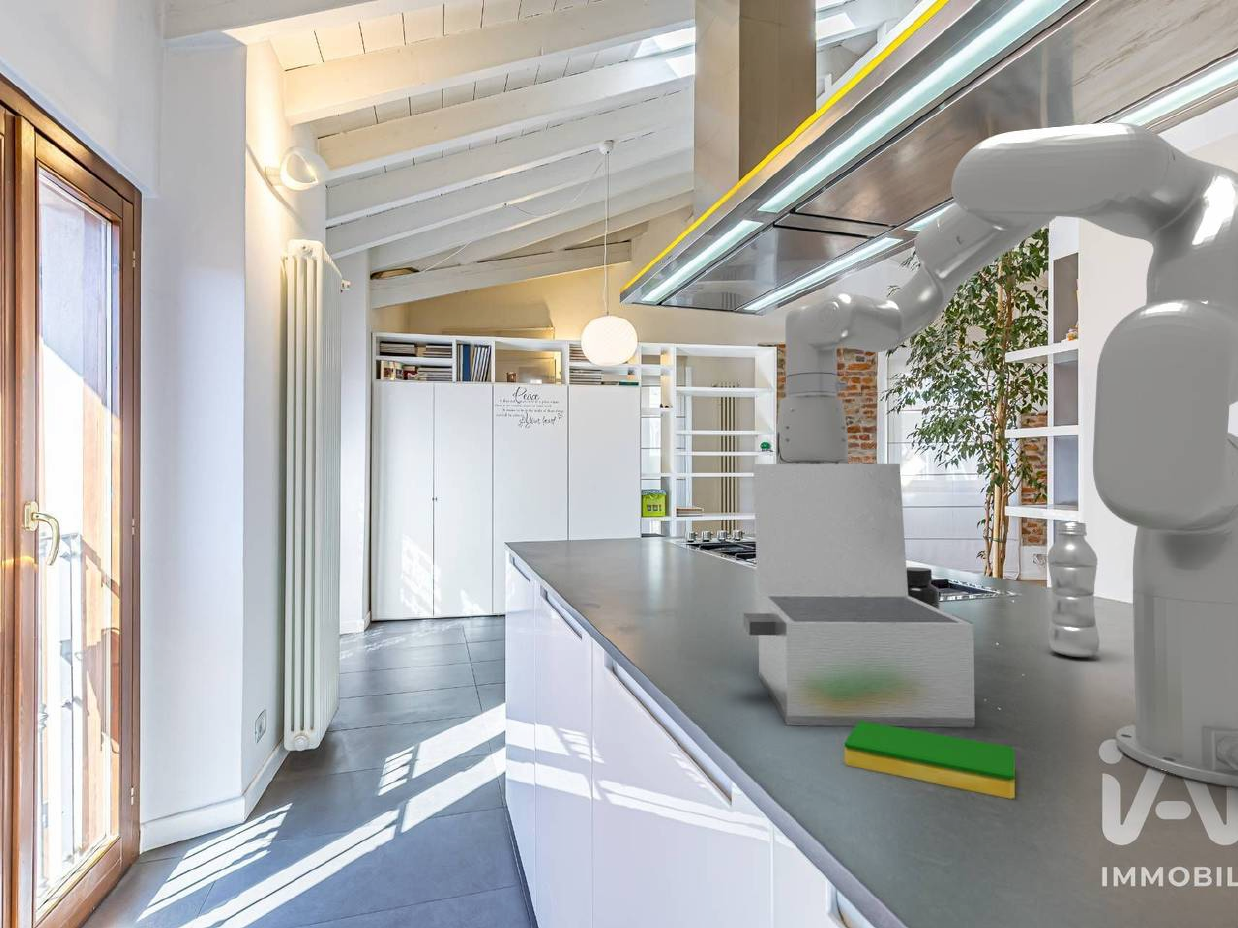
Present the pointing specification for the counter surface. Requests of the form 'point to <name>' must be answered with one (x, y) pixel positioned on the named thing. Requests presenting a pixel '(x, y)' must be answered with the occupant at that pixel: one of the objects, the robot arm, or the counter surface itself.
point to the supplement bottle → (922, 586)
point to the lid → (829, 529)
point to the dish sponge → (933, 758)
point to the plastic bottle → (1072, 592)
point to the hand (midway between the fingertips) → (812, 509)
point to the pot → (864, 660)
